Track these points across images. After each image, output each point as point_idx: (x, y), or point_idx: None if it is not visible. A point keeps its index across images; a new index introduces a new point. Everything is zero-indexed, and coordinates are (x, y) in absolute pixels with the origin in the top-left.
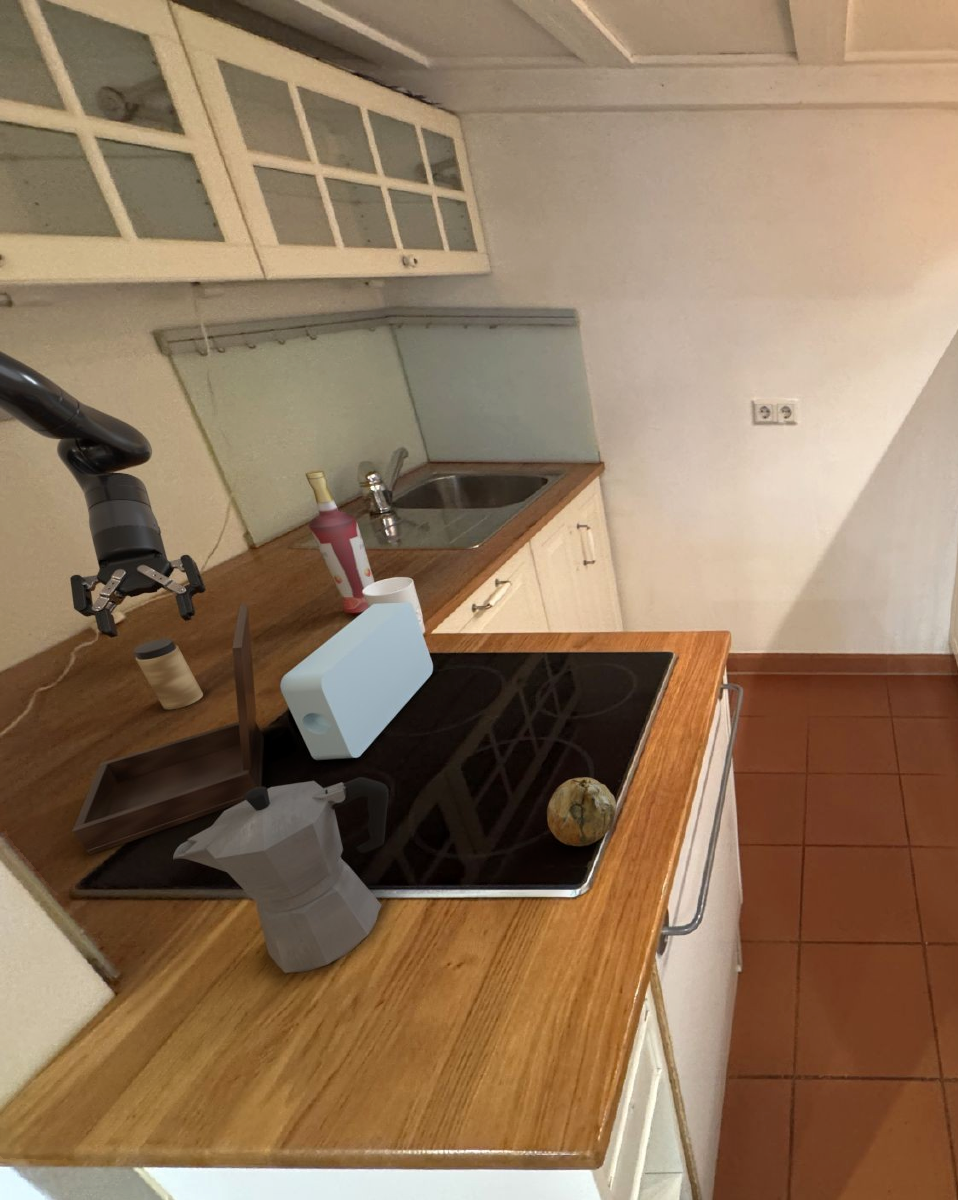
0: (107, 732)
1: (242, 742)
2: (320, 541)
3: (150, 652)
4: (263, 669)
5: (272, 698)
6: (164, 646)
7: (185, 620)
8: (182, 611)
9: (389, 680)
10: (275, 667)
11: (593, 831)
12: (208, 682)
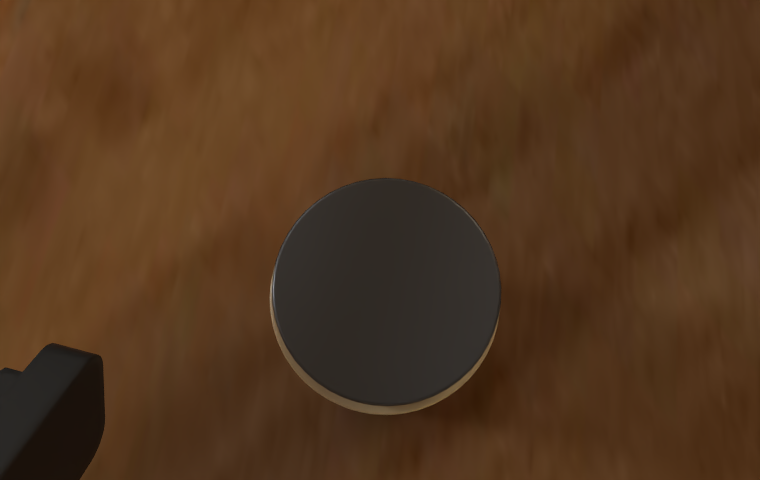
0: (642, 281)
1: None
2: None
3: (418, 187)
4: None
5: (126, 24)
6: (334, 196)
7: (101, 416)
8: (50, 367)
9: None
10: (6, 340)
11: None
12: (260, 448)
